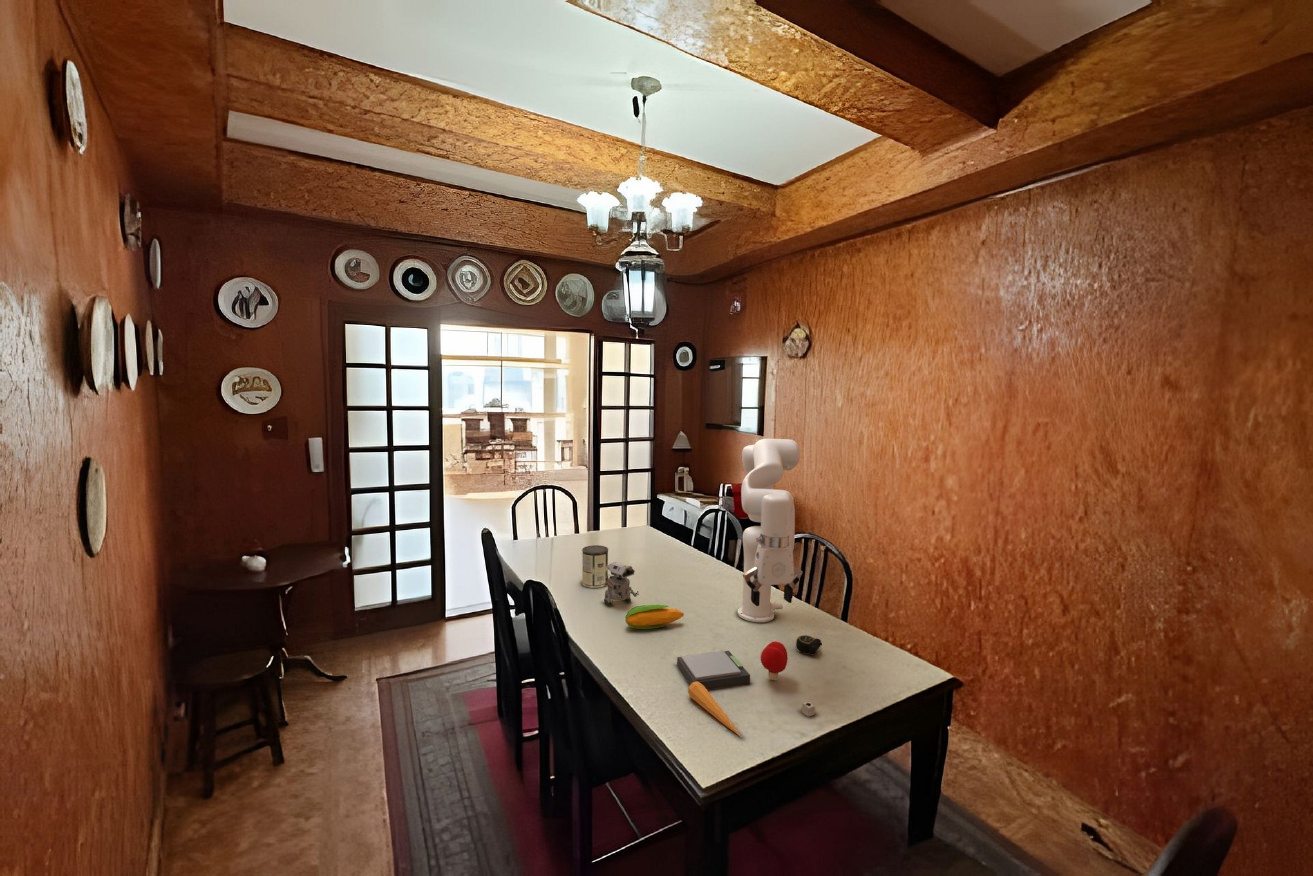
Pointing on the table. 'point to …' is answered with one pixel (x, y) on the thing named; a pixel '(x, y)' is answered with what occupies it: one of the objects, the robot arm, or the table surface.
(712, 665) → the scale
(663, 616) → the corn
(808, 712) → the white block with hole
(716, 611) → the table surface
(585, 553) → the coffee can
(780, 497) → the robot arm
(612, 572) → the figurine
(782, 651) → the red rounded piece
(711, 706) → the carrot
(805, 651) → the tape measure
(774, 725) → the table surface
